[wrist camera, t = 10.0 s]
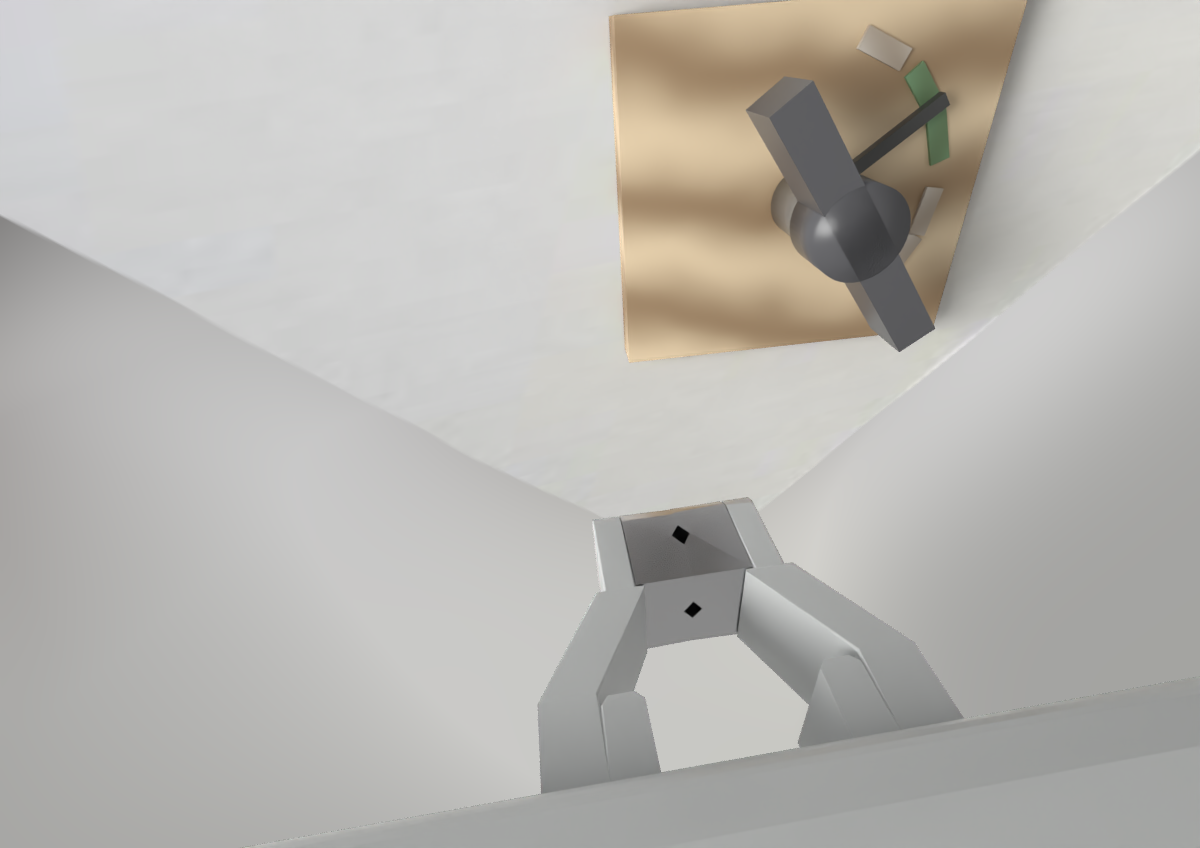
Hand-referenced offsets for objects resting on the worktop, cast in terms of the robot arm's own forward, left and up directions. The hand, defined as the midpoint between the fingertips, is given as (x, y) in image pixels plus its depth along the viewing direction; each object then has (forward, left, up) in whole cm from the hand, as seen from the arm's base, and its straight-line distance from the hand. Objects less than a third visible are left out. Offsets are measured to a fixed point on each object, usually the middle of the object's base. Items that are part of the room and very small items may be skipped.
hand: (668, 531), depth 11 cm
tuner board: (+1, +12, -26) cm, 29 cm away
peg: (-1, +15, -24) cm, 28 cm away
